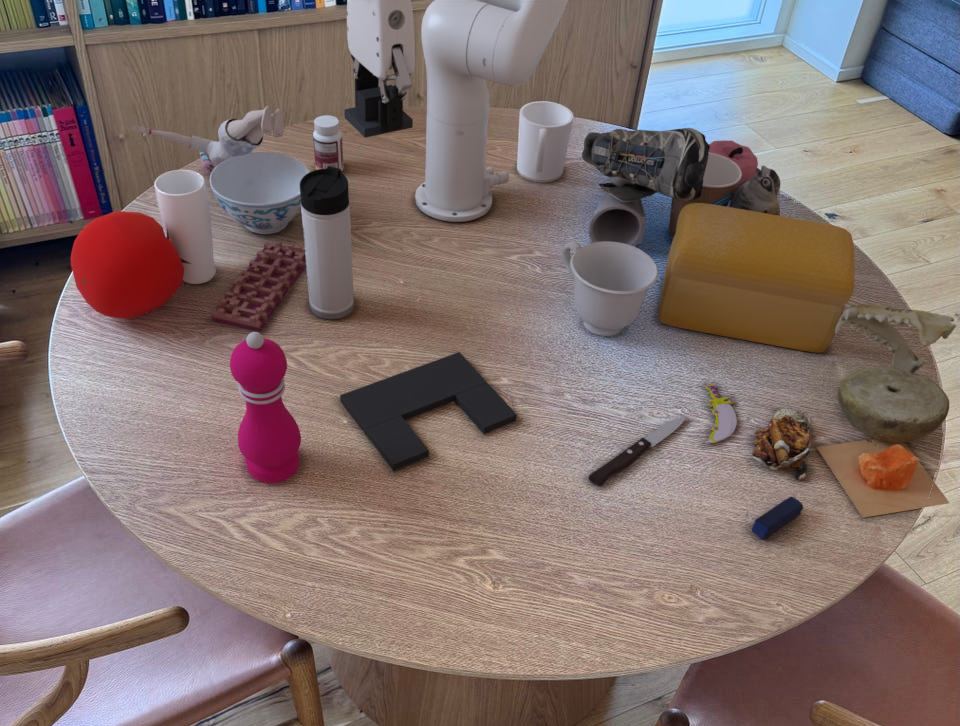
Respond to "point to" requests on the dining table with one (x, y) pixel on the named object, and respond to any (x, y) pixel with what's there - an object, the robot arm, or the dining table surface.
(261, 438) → the pepper mill
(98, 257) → the tomato
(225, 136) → the figurine
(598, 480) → the kitchen knife
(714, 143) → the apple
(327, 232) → the travel mug
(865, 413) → the weight
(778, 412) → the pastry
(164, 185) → the drinking glass
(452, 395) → the black u-shaped block
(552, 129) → the mug
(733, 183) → the coffee cup
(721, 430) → the decorative knife
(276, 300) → the chocolate bar
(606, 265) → the teacup
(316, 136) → the pill bottle
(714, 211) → the bread
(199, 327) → the dining table surface
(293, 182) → the chinaware
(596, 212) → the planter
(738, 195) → the figurine
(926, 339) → the jawbone
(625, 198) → the running shoe
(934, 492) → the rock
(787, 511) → the eraser
